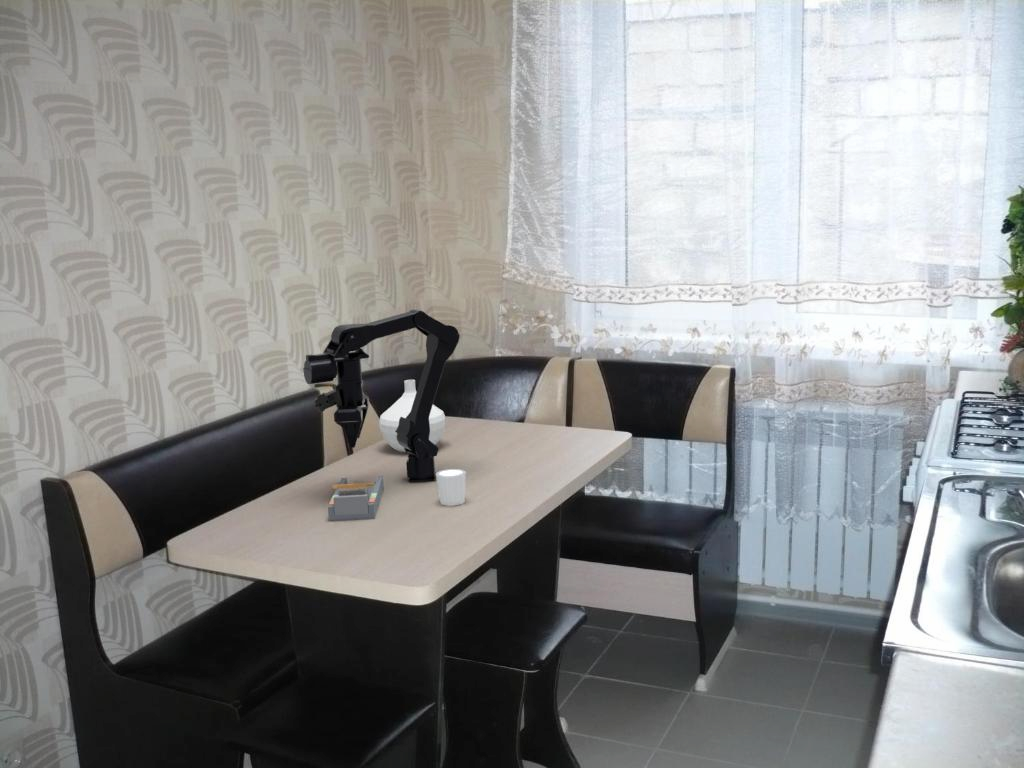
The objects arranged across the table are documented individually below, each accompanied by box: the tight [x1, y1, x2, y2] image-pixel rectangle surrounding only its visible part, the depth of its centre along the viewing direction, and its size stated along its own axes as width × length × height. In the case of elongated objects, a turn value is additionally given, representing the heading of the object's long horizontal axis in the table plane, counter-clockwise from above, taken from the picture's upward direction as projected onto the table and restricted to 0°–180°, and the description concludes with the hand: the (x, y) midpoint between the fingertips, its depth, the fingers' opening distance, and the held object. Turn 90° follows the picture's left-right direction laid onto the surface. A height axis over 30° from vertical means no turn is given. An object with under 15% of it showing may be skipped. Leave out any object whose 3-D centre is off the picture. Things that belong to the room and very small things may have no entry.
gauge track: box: [327, 475, 385, 522], centre depth 244 cm, size 10×23×5 cm, turn 2°
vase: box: [378, 379, 446, 453], centre depth 292 cm, size 18×18×19 cm
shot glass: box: [436, 468, 467, 507], centre depth 242 cm, size 7×7×7 cm
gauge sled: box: [331, 482, 375, 503], centre depth 238 cm, size 9×5×5 cm, turn 92°
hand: (354, 442), depth 253 cm, fingers open, 9 cm apart
